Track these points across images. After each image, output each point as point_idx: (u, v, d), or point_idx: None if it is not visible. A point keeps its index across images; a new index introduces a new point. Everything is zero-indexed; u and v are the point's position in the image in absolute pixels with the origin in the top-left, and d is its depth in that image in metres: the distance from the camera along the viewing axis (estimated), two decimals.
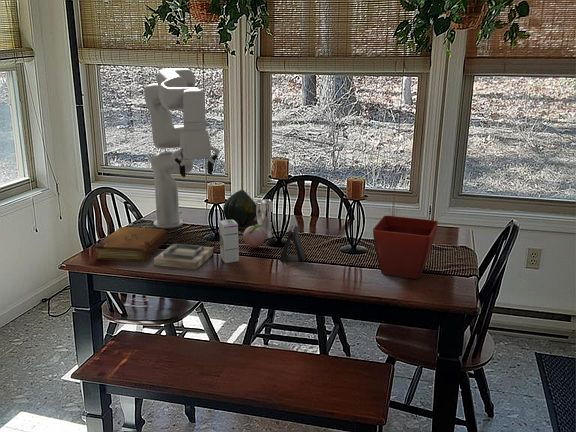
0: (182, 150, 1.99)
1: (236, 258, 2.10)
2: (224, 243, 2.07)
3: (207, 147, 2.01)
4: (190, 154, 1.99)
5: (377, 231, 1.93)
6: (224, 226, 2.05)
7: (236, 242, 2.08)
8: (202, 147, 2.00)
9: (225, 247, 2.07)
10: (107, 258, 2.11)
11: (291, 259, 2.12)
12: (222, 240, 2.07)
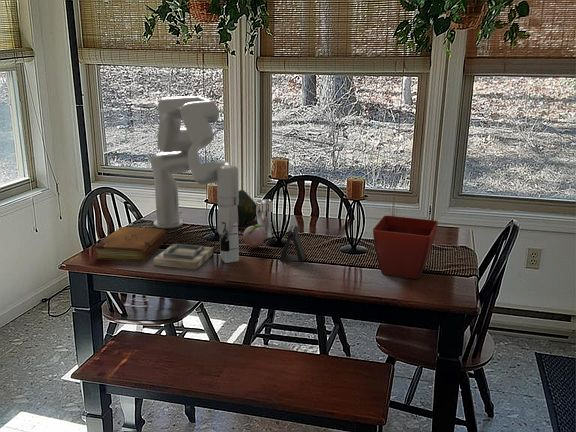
0: (226, 225, 2.03)
1: (236, 258, 2.10)
2: None
3: (237, 217, 2.10)
4: (232, 227, 2.05)
5: (377, 231, 1.93)
6: None
7: (236, 242, 2.08)
8: (236, 218, 2.09)
9: None
10: (107, 258, 2.11)
11: (291, 259, 2.12)
12: None
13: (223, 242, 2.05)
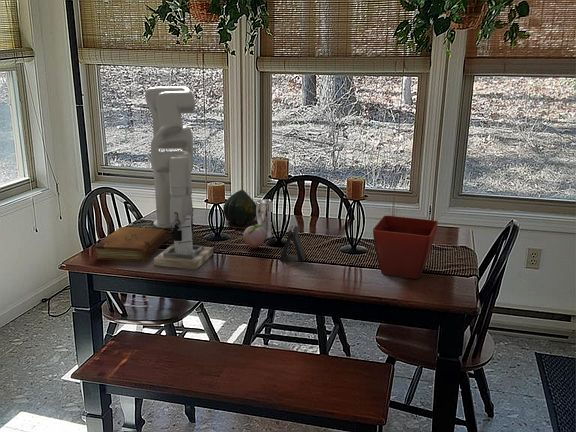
0: (179, 215, 2.02)
1: (190, 251, 2.09)
2: None
3: (191, 207, 2.10)
4: (185, 217, 2.04)
5: (377, 231, 1.93)
6: (177, 219, 2.04)
7: (189, 235, 2.08)
8: (190, 208, 2.08)
9: None
10: (107, 258, 2.11)
11: (291, 259, 2.12)
12: None
13: (175, 232, 2.03)
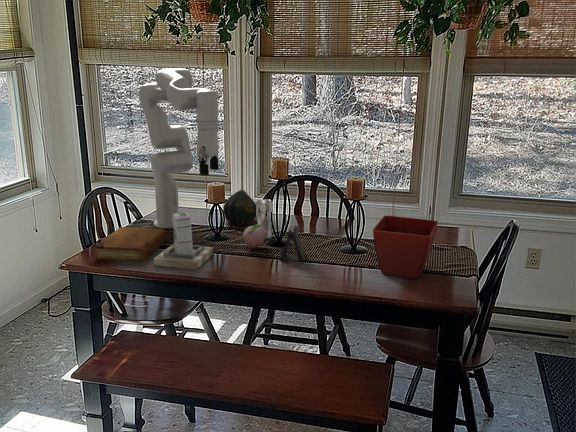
0: (206, 149, 2.06)
1: (190, 251, 2.09)
2: (177, 236, 2.06)
3: (217, 144, 2.13)
4: (211, 152, 2.08)
5: (377, 231, 1.93)
6: (177, 219, 2.04)
7: (189, 235, 2.08)
8: (216, 144, 2.11)
9: (178, 240, 2.06)
10: (107, 258, 2.11)
11: (291, 259, 2.12)
12: (175, 233, 2.07)
13: (202, 165, 2.07)
